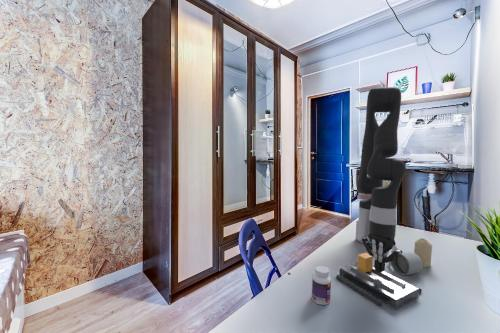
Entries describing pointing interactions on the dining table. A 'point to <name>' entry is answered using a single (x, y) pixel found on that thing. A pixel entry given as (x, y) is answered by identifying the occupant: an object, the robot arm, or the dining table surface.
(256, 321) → the dining table surface
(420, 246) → the candle
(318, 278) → the pill bottle
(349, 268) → the panel
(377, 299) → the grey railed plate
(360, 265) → the lever
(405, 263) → the ceramic mug
